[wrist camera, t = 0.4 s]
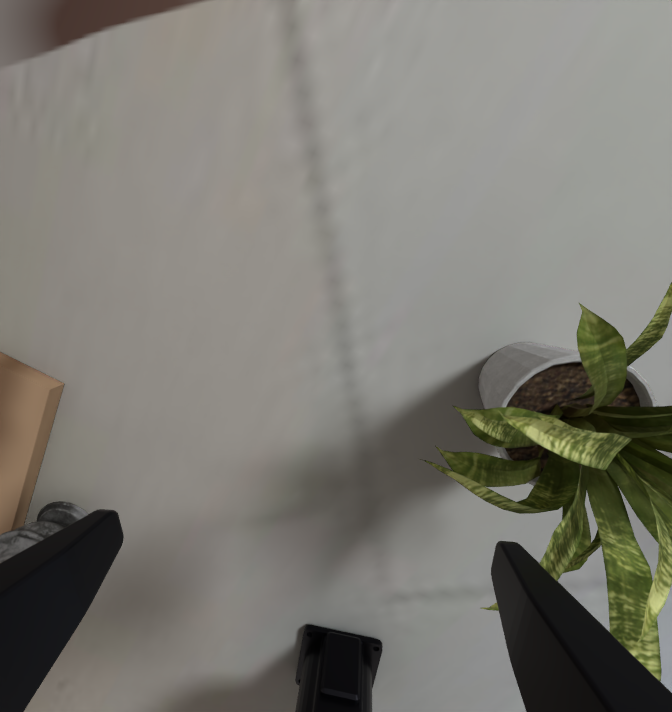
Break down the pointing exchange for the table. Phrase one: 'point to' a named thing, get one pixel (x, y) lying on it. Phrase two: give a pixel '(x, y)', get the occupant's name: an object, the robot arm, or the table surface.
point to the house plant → (583, 461)
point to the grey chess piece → (39, 528)
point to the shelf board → (23, 435)
